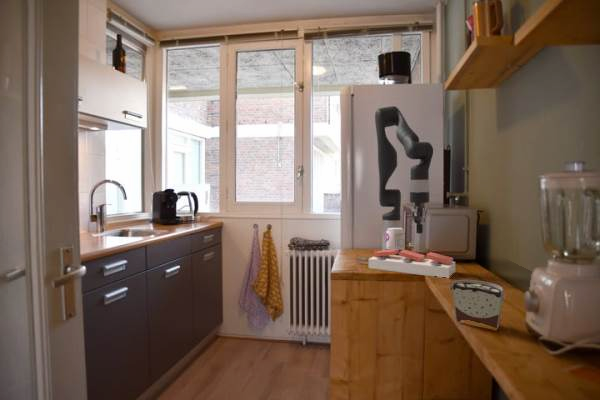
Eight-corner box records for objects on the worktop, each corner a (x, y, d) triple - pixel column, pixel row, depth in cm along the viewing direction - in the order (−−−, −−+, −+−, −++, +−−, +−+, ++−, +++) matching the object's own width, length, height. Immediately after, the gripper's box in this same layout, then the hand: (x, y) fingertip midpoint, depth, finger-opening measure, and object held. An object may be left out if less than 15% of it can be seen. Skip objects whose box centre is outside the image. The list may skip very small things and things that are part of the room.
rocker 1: (379, 254, 155) (378, 250, 155) (398, 252, 150) (398, 249, 150) (374, 256, 150) (373, 253, 150) (394, 255, 145) (393, 251, 145)
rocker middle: (403, 253, 149) (403, 249, 149) (424, 259, 144) (424, 255, 144) (398, 255, 144) (399, 251, 144) (420, 261, 139) (420, 257, 139)
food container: (510, 325, 85) (510, 285, 84) (504, 333, 80) (504, 290, 80) (457, 313, 93) (457, 277, 93) (449, 320, 88) (449, 281, 88)
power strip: (362, 261, 162) (362, 250, 161) (455, 271, 139) (455, 259, 139) (351, 266, 152) (351, 254, 152) (448, 278, 129) (448, 265, 129)
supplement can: (385, 261, 160) (385, 229, 160) (387, 257, 168) (387, 227, 168) (404, 262, 158) (403, 229, 157) (404, 258, 166) (404, 227, 165)
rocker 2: (429, 255, 143) (430, 252, 143) (452, 261, 138) (453, 257, 138) (425, 258, 138) (426, 254, 138) (449, 264, 133) (450, 260, 133)
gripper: (414, 190, 149) (415, 230, 150) (405, 191, 138) (405, 234, 139) (433, 190, 145) (433, 231, 146) (424, 191, 134) (424, 235, 135)
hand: (419, 233), depth 142 cm, fingers closed
